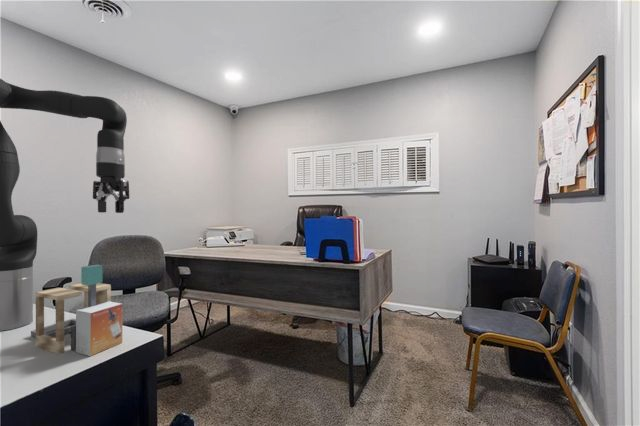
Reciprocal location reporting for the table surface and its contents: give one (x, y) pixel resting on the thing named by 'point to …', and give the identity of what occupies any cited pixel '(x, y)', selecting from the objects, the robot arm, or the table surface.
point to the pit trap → (52, 328)
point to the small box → (98, 327)
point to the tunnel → (59, 295)
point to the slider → (89, 278)
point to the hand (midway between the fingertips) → (110, 212)
